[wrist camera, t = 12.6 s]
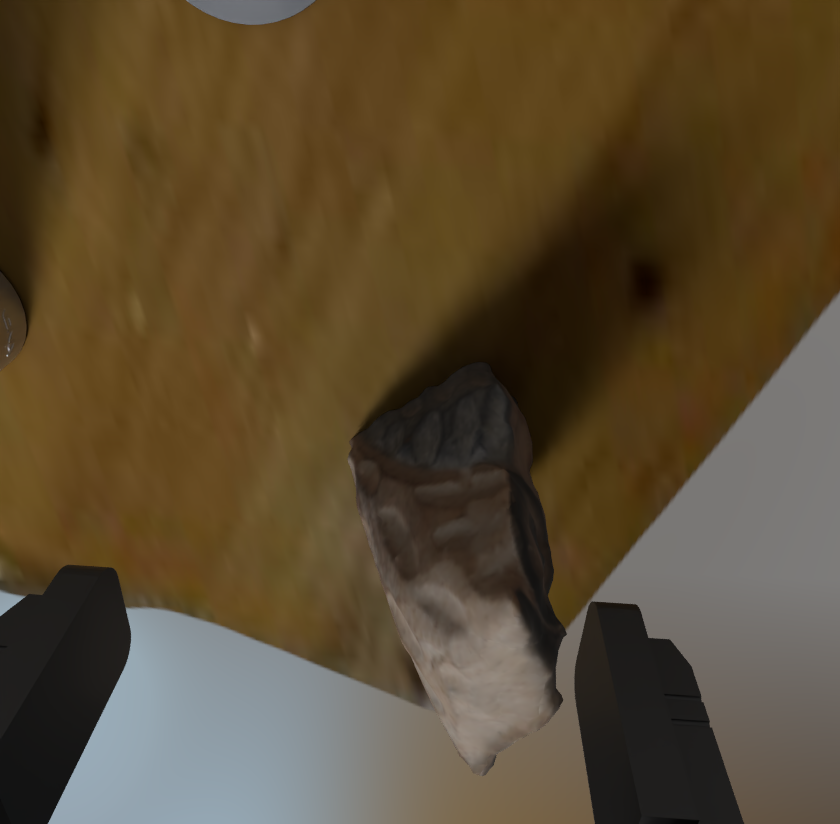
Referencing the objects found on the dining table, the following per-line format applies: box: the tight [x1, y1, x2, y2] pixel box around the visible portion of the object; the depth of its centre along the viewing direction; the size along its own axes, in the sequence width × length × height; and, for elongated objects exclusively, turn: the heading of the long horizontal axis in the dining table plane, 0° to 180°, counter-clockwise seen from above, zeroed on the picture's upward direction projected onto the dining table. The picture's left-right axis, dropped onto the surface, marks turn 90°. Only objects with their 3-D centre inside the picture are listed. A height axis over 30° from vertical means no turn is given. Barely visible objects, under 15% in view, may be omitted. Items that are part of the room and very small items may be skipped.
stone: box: [348, 362, 567, 776], centre depth 42 cm, size 13×13×20 cm
